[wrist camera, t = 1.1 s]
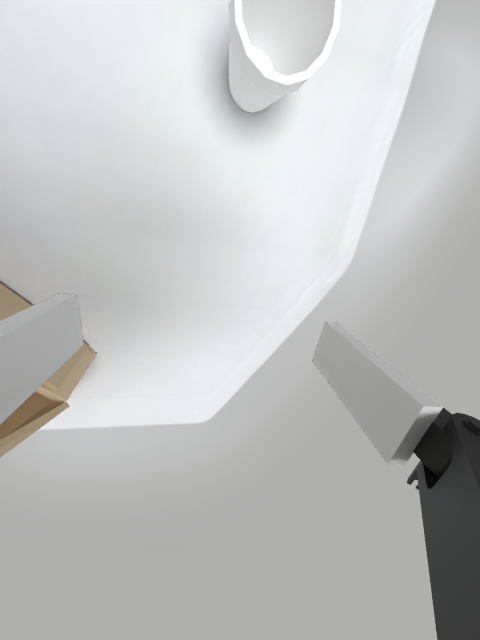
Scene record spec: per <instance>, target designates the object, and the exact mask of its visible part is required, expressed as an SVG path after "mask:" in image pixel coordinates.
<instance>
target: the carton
mask: <svg viewBox="0 0 480 640" xmlns="http://www.w3.org/2000/svg"><path fill="white" fill-rule="evenodd" d="M31 306H32V305H31V304H29V303H28V302H27V301H25V300H24V299H22V298H21V297H20V296H18V295H17V294H15V293H14V292H13V291H11V290H10V289H8V288H7V287H5V286H4V285H3V284H1V283H0V321H1V320H3V319H5V318H8V317H10V316H12V315H14V314H16V313H18V312H20V311H22V310H25V309H27V308H29V307H31ZM83 343H84V342H83ZM95 355H96V352H95V351H94V350H92V349H91V348H89V347H88V345H87V344H86V343H84V344H83V345H82V346H81V347H80V348H79V349H78V350H77V351H76V352H75V353H74V354H73V355H72V356H71V357H70V358H69V359H68V360H67V361H66V362H65V363H64V364H63V365H62V366H61V367H60V368H59V369H58V370H56V371H55V372H54V373H53V374H52V375H51V376H50V377H49V378H48V379H47V380H46V381H45V382H44V383H43V384H42V385H41V386H40V387H39V388H38V389H37V390H36V391H35V392H34V393H33V394H32V395H31V396H30V397H29V398H27V399H26V400H25V401H24V402H23V403H22V404H21V405H20V406H19V407H18V408H17V409H16V410H15V411H14V412H13V413H12V414H11V415H10V416H9V417H8V418H7V419H6V420H5V421H4V422H3V423H2V424H1V425H0V440H1V439H3V438H5V437H6V436H8V435H10V434H12V433H13V432H15V431H17V430H18V429H20V428H22V427H24V426H25V425H27V424H29V423H31V422H32V421H34V420H36V419H37V418H39V417H41V416H43V415H44V414H46V413H48V412H49V411H51V410H53V409H55V408H56V407H58V406H60V405H61V404H63V403H64V402H65V401H67V399H68V398H69V396H70V394H71V393H72V391H73V390H74V388H75V386H76V385H77V383H78V382H79V380H80V379H81V377H82V375H83V374H84V372H85V371H86V369H87V367H88V366H89V364H90V363H91V361H92V360H93V358H94V356H95Z"/></svg>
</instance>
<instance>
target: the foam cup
mask: <svg viewBox="0 0 480 640" xmlns="http://www.w3.org/2000/svg"><path fill="white" fill-rule="evenodd" d="M341 5H342V0H230V2H229V12H230V47H229V70H228V71H229V89H230V92H231V94H232V97H233V99H234V102H235V103H236V104H237V105H238V106H239V107H240V108H241V109H242V110H244V111H247V112H250V113H255V112H258V111H261V110H263V109H265V108H266V107H268V106H269V105H271V104H273V103H274V102H276V101H277V100H279V99H280V98H282V97H283V96H285V95H286V94H288V93H290V92H293V91H296V90H298V89H299V88H300V87H301V86H302V85H303V84H304V83H305V82H306V81H307V80H308V78H309V77H310V76H311V75H312V74H313V73H314V72H315V71H316V70H317V69H318V68H319V67H320V66H321V65H322V64H323V62H324V61H325V60H326V59H327V57H328V54H329V52H330V49H331V47H332V45H333V42H334V40H335V37H336V35H337V32H338V30H339V24H340V14H341Z"/></svg>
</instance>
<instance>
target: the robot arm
mask: <svg viewBox="0 0 480 640" xmlns="http://www.w3.org/2000/svg"><path fill="white" fill-rule="evenodd" d="M83 344H84V343H83V335H82V327H81V319H80V311H79V303H78V295H75V294H66V293H58V294H56V295H54V296H52V297H50V298H48V299H46V300H44V301H42V302H39V303H37V304H35V305H33V306H31V307H29V308H27V309H25V310H22V311H20V312H18V313H16V314H14V315H12V316H10V317H8V318H5V319H3V320H1V321H0V425H1V424H2V423H3V422H4V421H5V420H6V419H7V418H8V417H9V416H10V415H11V414H12V413H13V412H14V411H15V410H16V409H17V408H18V407H19V406H20V405H21V404H22V403H23V402H24V401H25V400H26V399H27V398H29V397H30V396H31V395H32V394H33V393H34V392H35V391H36V390H37V389H38V388H39V387H40V386H41V385H42V384H43V383H44V382H45V381H46V380H47V379H48V378H49V377H50V376H51V375H52V374H53V373H54V372H55V371H56V370H58V369H59V368H60V367H61V366H62V365H63V364H64V363H65V362H66V361H67V360H68V359H69V358H70V357H71V356H72V355H73V354H74V353H75V352H76V351H77V350H78V349H79V348H80V347H81V346H82V345H83ZM312 362H313V363H314V364H315V366H316V367H317V368H318V370H319V371H320V372H321V374H322V375H323V377H324V378H325V379H326V381H327V382H328V383H329V385H330V386H331V388H332V389H333V390H334V392H335V393H336V394H337V396H338V397H339V399H340V400H341V401H342V403H343V404H344V405H345V407H346V408H347V410H348V411H349V412H350V414H351V415H352V416H353V418H354V419H355V420H356V422H357V423H358V425H359V426H360V427H361V429H362V430H363V431H364V433H365V434H366V436H367V437H368V438H369V440H370V441H371V442H372V444H373V445H374V447H375V448H376V449H377V451H378V452H379V453H380V455H381V456H382V457H383V459H384V460H385V462H386V463H387V464H406V463H407V461H408V460H409V458H410V457H411V455H412V454H413V452H414V453H415V454H416V455H417V457H418V458H419V459H420V460H421V461H420V462H419V464H418V465H417V466H416V468H415V469H414V471H413V472H412V474H411V475H410V476H409V478H408V481H407V483H408V484H410V485H411V484H412V482H413V481H414V480H418V485H417V486H416V488H417V489H419V494H420V501H421V509H422V518H423V526H424V534H425V542H426V550H427V558H428V566H429V574H430V582H431V590H432V599H433V606H434V614H435V623H436V631H437V639H438V640H480V420H478V419H476V418H474V417H471V416H468V415H465V414H461V413H455V414H453V415H452V414H451V413H449V412H448V411H447V410H446V409H445V408H443V407H442V406H441V405H440V404H439V403H438V402H436V401H435V400H434V399H432V398H431V397H430V396H429V395H427V394H426V393H425V392H424V391H422V390H421V389H420V388H418V387H417V386H416V385H415V384H414V383H412V382H411V381H410V380H409V379H407V378H406V377H405V376H404V375H402V374H401V373H400V372H399V371H397V370H396V369H395V368H394V367H392V366H391V365H390V364H388V363H387V362H386V361H384V360H383V359H382V358H381V357H380V356H378V355H377V354H376V353H374V352H373V351H372V350H371V349H370V348H368V347H367V346H366V345H365V344H363V343H362V342H361V341H360V340H358V339H357V338H356V337H355V336H353V335H352V334H351V333H349V332H348V331H347V330H345V329H344V328H343V327H342V326H341V325H339V324H338V323H336V322H327V321H325V323H324V327H323V329H322V332H321V335H320V338H319V341H318V344H317V347H316V350H315V353H314V356H313V359H312Z"/></svg>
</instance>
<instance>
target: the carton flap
mask: <svg viewBox="0 0 480 640" xmlns="http://www.w3.org/2000/svg"><path fill="white" fill-rule="evenodd" d="M68 407H69V405H68V404H67V402H65V403H63V404H61V405H60V406H58V407H56V408H55V409H53V410H51V411H49V412H48V413H46V414H44V415H43V416H41V417H39V418H37V419H36V420H34V421H32V422H31V423H29V424H27V425H25V426H24V427H22V428H20V429H18V430H17V431H15V432H13V433H12V434H10V435H8V436H6V437H5V438H3V439H1V440H0V457H1V456H3V455H4V454H6V453H7V452H8V451H9V450H11V449H12V448H13V447H15V446H16V445H17V444H19V443H20V442H22V441H23V440H24V439H26V438H27V437H28V436H30V435H31V434H33V433H34V432H35V431H37V430H38V429H39V428H41V427H42V426H43V425H45V424H46V423H47V422H49V421H50V420H51V419H53V418H54V417H56V416H57V415H58V414H60V413H61V412H62V411H64V410H65V409H66V408H68Z"/></svg>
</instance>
